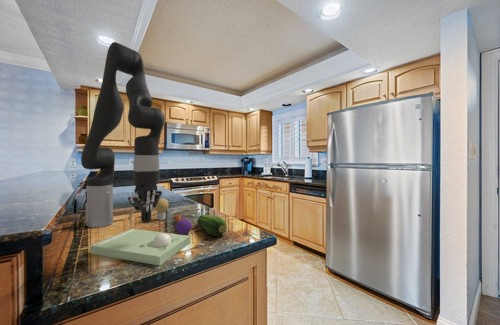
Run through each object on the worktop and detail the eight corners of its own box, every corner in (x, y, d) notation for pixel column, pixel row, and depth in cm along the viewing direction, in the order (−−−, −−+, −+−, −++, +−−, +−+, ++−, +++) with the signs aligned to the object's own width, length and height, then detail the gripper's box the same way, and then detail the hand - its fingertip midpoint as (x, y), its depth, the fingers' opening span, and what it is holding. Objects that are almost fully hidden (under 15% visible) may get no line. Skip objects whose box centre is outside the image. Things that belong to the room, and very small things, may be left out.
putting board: (90, 253, 67) (90, 244, 67) (131, 235, 82) (131, 228, 82) (159, 265, 60) (159, 256, 60) (190, 243, 76) (190, 235, 76)
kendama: (185, 212, 101) (194, 221, 83) (183, 225, 100) (191, 237, 82) (172, 211, 98) (178, 220, 80) (169, 224, 98) (175, 236, 80)
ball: (164, 255, 66) (150, 254, 68) (175, 247, 71) (161, 246, 73) (163, 237, 66) (148, 236, 67) (174, 230, 71) (160, 230, 73)
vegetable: (217, 216, 79) (196, 206, 95) (208, 236, 77) (189, 221, 94) (232, 222, 83) (210, 211, 99) (225, 241, 81) (203, 226, 98)
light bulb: (171, 218, 104) (171, 197, 103) (160, 222, 98) (160, 200, 97) (161, 216, 106) (161, 196, 106) (150, 220, 100) (150, 199, 100)
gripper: (151, 167, 77) (150, 215, 78) (119, 170, 64) (119, 227, 65) (169, 168, 75) (168, 217, 76) (140, 171, 62) (140, 230, 63)
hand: (146, 222), depth 70 cm, fingers closed
